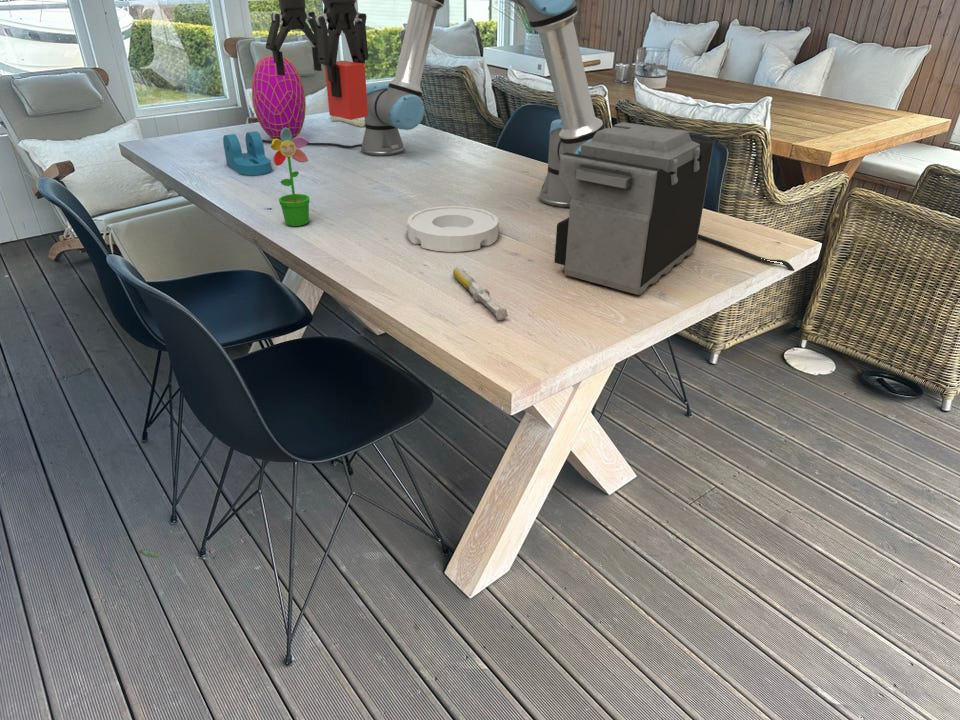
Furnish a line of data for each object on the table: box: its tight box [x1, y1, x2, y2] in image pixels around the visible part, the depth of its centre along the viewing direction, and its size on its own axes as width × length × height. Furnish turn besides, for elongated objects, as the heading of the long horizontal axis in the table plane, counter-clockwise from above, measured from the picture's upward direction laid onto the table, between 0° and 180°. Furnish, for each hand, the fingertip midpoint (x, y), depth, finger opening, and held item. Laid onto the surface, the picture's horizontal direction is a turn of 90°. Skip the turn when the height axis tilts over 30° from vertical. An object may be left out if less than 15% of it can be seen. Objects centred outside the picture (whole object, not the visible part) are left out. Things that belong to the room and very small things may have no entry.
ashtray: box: [407, 205, 499, 253], centre depth 175 cm, size 23×23×4 cm
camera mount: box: [222, 131, 272, 176], centre depth 226 cm, size 18×10×10 cm, turn 35°
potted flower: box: [270, 128, 310, 227], centre depth 177 cm, size 9×8×25 cm
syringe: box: [452, 266, 509, 321], centre depth 145 cm, size 25×4×3 cm, turn 21°
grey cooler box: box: [554, 121, 715, 296], centre depth 154 cm, size 37×22×30 cm, turn 144°
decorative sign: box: [330, 115, 365, 128], centre depth 295 cm, size 26×1×10 cm
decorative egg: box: [251, 54, 307, 141], centre depth 257 cm, size 19×19×30 cm
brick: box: [324, 60, 368, 120], centre depth 162 cm, size 6×8×12 cm
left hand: (300, 72), depth 209 cm, fingers open, 13 cm apart
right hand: (347, 94), depth 163 cm, fingers closed on brick, 6 cm apart
